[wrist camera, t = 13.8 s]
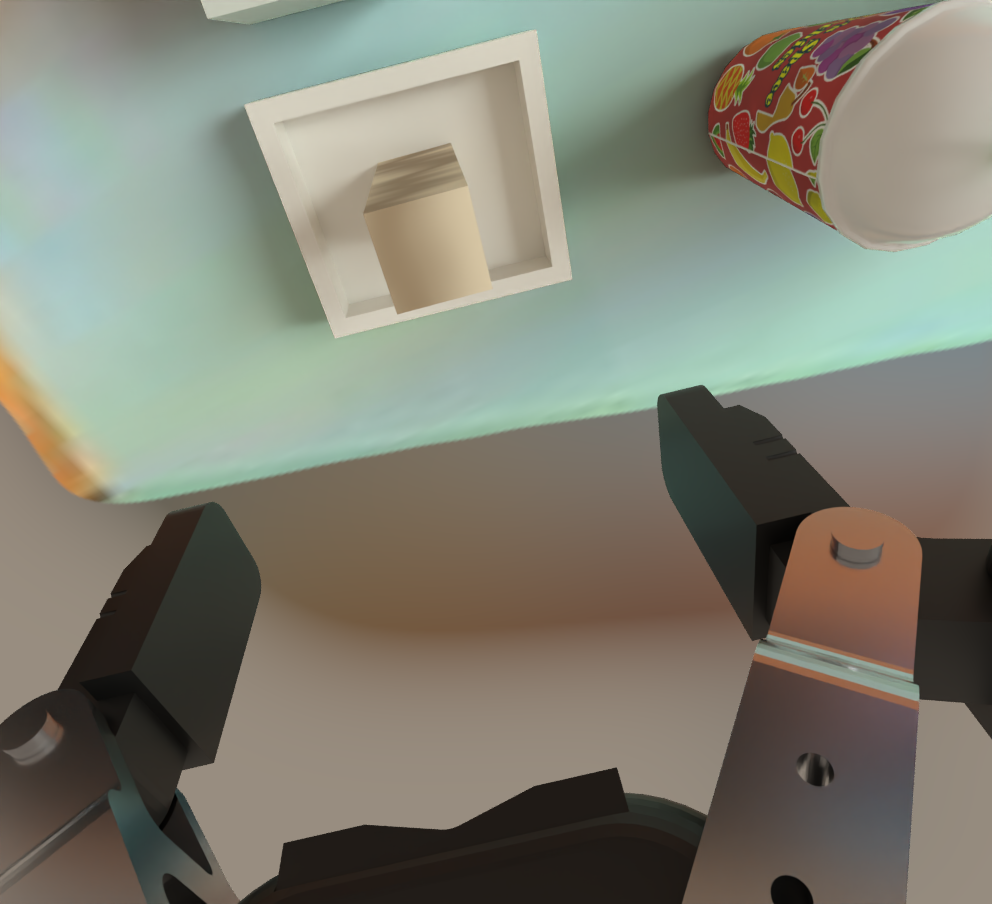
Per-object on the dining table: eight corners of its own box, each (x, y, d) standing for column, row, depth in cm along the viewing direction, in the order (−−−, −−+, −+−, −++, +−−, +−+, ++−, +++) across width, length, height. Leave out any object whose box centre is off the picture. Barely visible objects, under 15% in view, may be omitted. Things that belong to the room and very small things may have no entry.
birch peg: (450, 142, 33) (467, 185, 23) (469, 219, 35) (492, 289, 25) (377, 162, 33) (362, 214, 23) (401, 237, 35) (397, 314, 25)
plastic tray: (526, 30, 31) (536, 29, 28) (561, 264, 38) (572, 279, 35) (257, 100, 31) (243, 104, 29) (339, 319, 38) (335, 338, 35)
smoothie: (814, -25, 31) (1281, -104, 14) (845, 135, 35) (1230, 217, 19) (662, 72, 32) (925, 101, 16) (710, 214, 37) (955, 352, 20)
